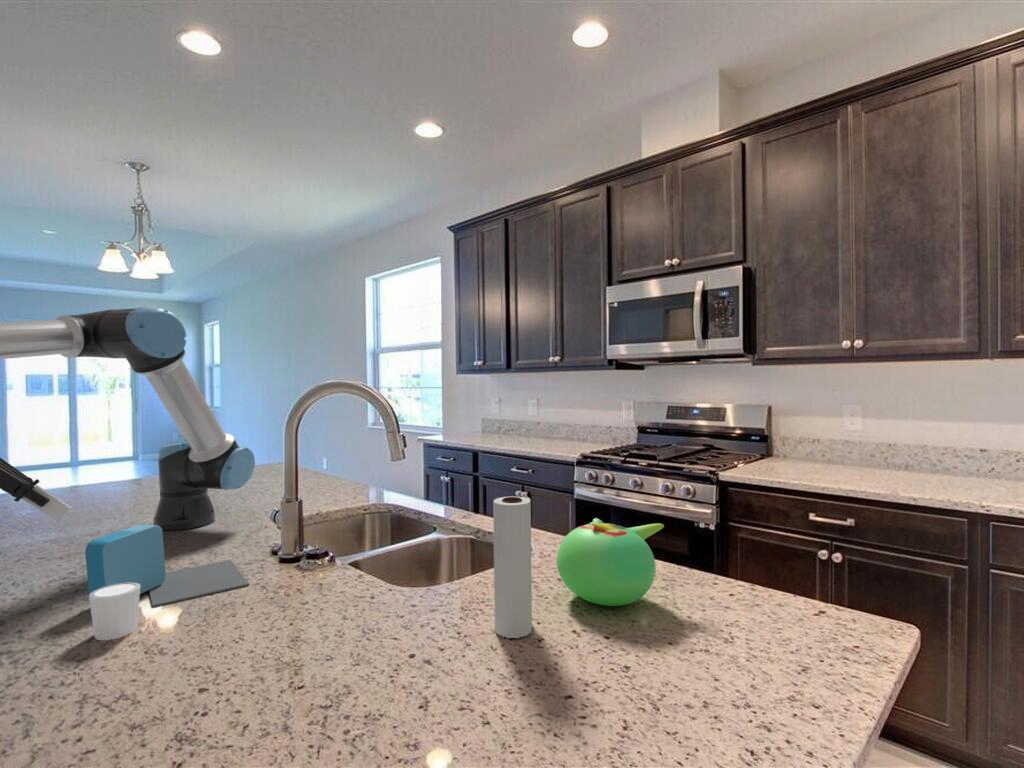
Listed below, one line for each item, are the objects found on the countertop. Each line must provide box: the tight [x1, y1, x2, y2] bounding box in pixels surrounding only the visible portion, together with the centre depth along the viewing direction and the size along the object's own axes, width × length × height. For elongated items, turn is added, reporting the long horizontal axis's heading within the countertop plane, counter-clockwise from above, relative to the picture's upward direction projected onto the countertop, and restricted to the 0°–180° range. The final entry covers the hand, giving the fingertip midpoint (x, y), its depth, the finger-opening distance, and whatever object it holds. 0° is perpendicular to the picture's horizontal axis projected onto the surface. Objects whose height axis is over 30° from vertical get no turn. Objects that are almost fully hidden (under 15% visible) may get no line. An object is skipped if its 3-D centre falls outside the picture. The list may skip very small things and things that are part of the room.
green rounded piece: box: [556, 517, 665, 607], centre depth 100 cm, size 18×17×15 cm
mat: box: [148, 559, 250, 608], centre depth 111 cm, size 16×18×1 cm
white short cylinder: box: [88, 582, 141, 641], centre depth 89 cm, size 7×7×7 cm
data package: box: [84, 524, 166, 596], centre depth 104 cm, size 12×4×12 cm, turn 164°
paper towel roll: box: [492, 493, 533, 639], centre depth 88 cm, size 7×6×21 cm
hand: (63, 513), depth 98 cm, fingers closed
